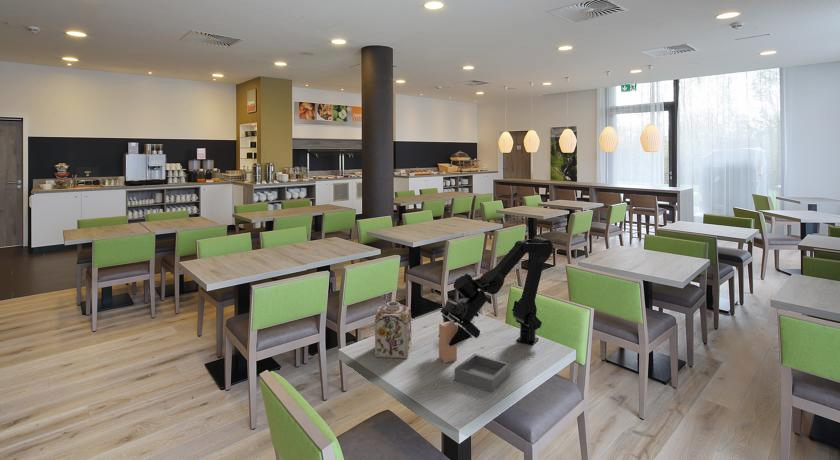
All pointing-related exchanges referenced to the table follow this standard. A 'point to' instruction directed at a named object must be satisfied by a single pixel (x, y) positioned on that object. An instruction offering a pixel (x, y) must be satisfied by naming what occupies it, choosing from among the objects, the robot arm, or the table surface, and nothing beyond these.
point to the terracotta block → (447, 341)
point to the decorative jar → (393, 331)
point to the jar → (474, 320)
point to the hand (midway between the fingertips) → (444, 341)
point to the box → (482, 372)
